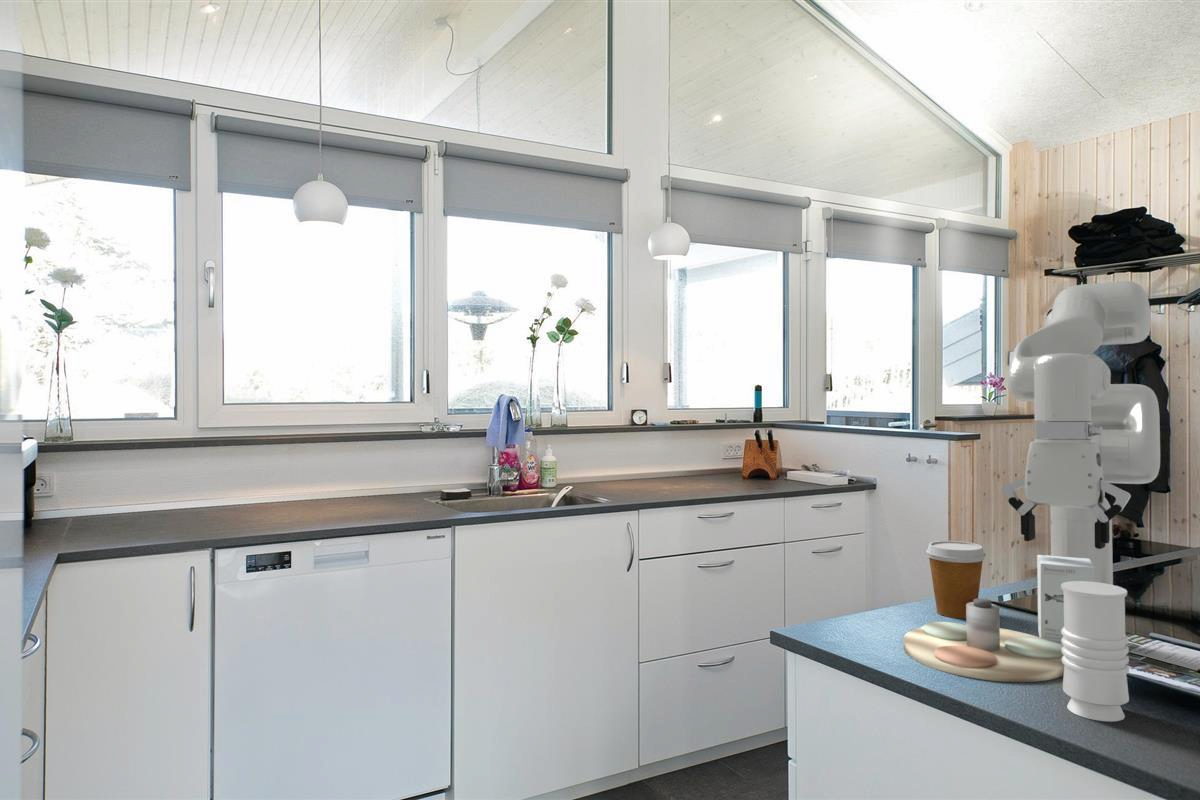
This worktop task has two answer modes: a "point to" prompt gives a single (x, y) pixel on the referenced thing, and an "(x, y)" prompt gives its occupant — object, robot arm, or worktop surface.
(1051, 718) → the worktop surface
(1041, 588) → the supplement box
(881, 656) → the worktop surface
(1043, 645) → the carrier
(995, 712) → the worktop surface
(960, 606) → the disposable coffee cup
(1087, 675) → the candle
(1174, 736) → the worktop surface
